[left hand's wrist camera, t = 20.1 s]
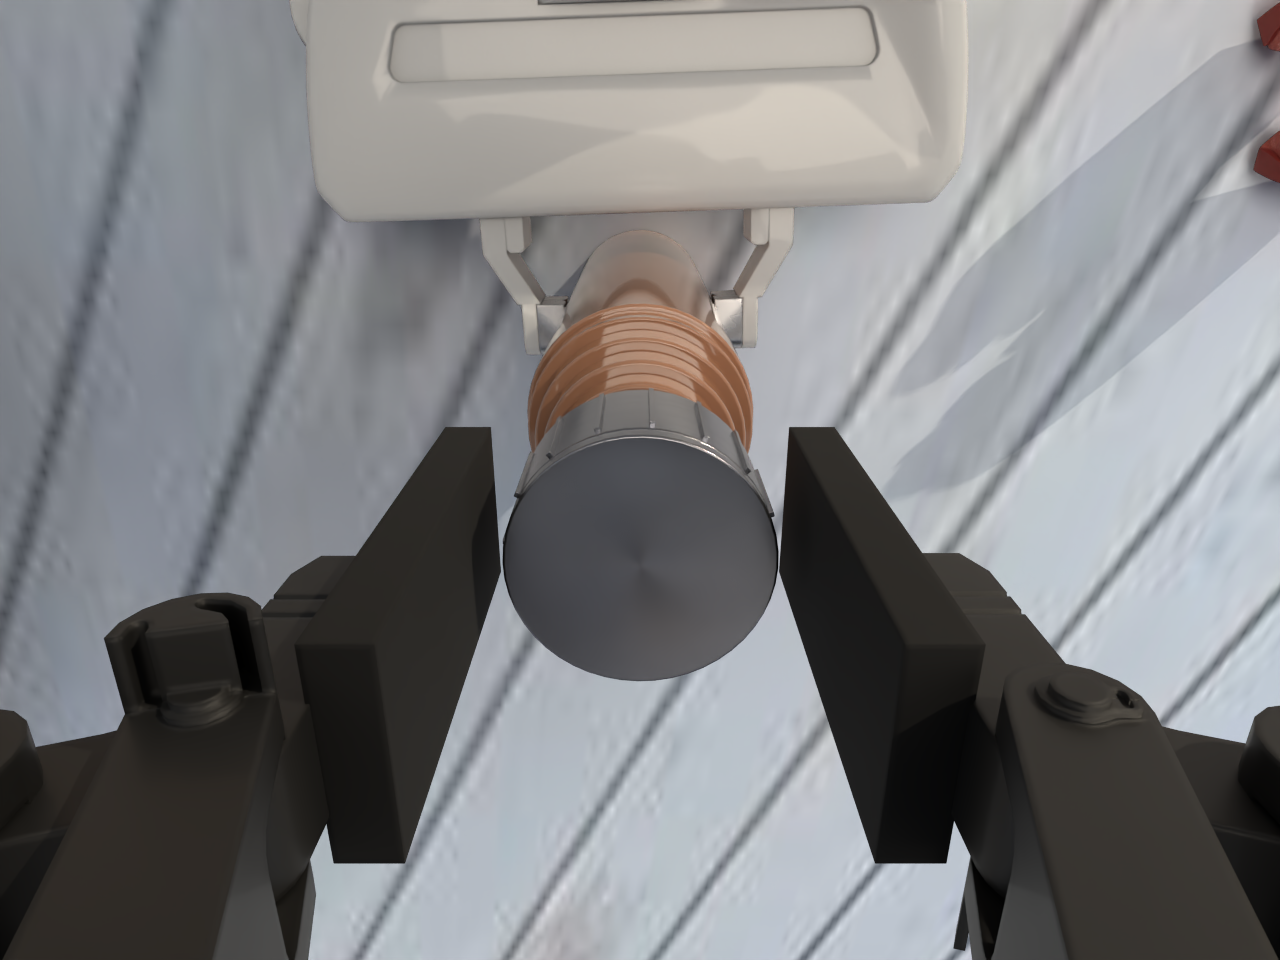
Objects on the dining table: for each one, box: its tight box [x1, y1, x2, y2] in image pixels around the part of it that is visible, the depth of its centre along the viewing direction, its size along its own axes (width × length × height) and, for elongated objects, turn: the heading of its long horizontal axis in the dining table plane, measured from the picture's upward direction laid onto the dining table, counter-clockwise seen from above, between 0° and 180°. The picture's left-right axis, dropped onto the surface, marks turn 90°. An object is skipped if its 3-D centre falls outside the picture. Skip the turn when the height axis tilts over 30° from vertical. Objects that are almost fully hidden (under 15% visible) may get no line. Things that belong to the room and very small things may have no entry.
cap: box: [503, 388, 778, 681], centre depth 13 cm, size 4×4×2 cm
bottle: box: [527, 230, 753, 454], centre depth 24 cm, size 5×5×24 cm
